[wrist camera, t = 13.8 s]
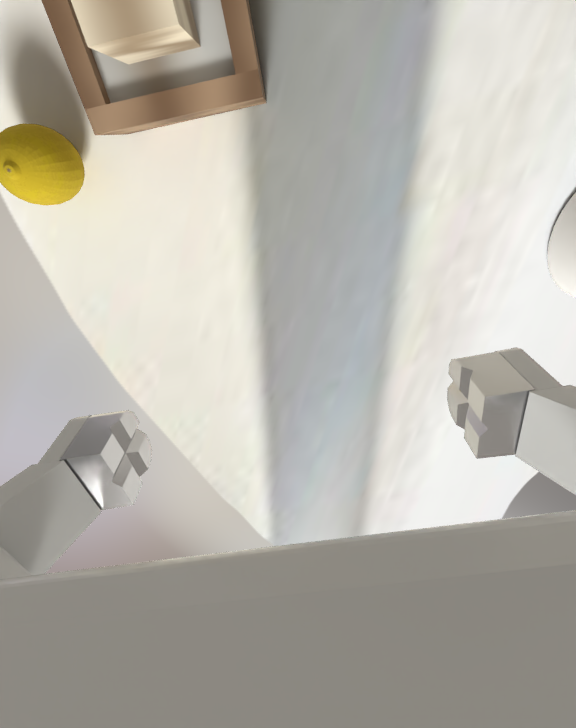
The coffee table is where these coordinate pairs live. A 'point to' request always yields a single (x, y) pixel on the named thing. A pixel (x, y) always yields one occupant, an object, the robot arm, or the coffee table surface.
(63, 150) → the lemon
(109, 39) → the ash block
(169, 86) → the walnut frame
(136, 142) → the coffee table surface
